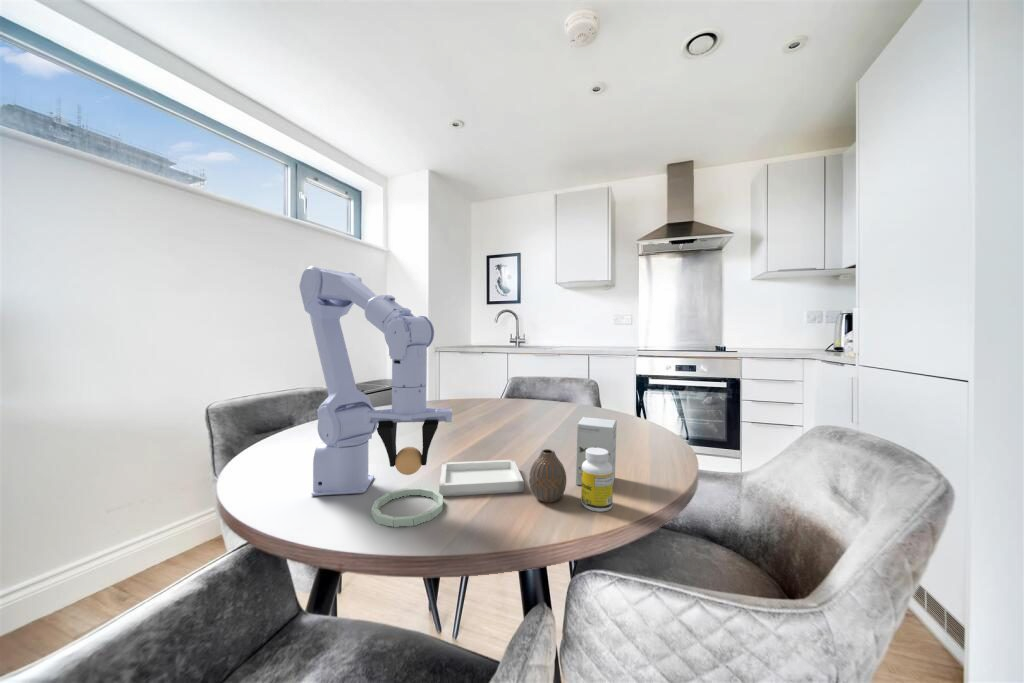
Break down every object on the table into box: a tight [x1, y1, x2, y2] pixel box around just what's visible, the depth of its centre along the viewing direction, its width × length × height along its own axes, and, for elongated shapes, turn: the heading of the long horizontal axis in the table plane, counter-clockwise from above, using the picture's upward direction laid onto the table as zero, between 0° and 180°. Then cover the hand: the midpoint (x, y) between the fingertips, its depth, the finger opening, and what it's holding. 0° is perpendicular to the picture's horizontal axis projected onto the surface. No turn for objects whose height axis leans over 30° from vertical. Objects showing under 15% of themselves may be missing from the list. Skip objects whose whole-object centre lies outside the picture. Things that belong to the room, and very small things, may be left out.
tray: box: [438, 459, 525, 497], centre depth 73 cm, size 16×12×2 cm
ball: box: [394, 446, 423, 476], centre depth 61 cm, size 5×5×5 cm
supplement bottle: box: [581, 448, 614, 513], centre depth 63 cm, size 5×5×10 cm
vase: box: [528, 448, 567, 504], centre depth 65 cm, size 7×7×9 cm
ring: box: [370, 486, 444, 528], centre depth 61 cm, size 12×12×1 cm
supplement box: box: [575, 416, 618, 487], centre depth 73 cm, size 7×7×13 cm
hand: (408, 463), depth 61 cm, fingers closed on ball, 5 cm apart
